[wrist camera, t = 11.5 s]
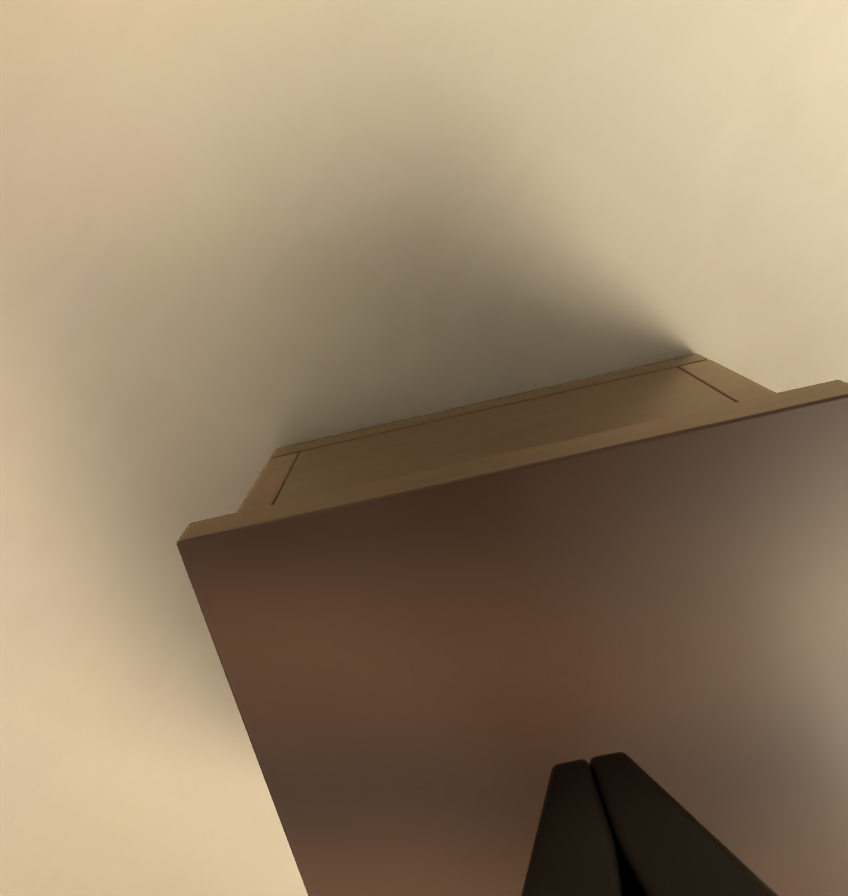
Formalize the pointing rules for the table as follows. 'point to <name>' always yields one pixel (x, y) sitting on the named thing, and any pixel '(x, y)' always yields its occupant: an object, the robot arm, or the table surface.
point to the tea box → (498, 427)
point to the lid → (550, 646)
